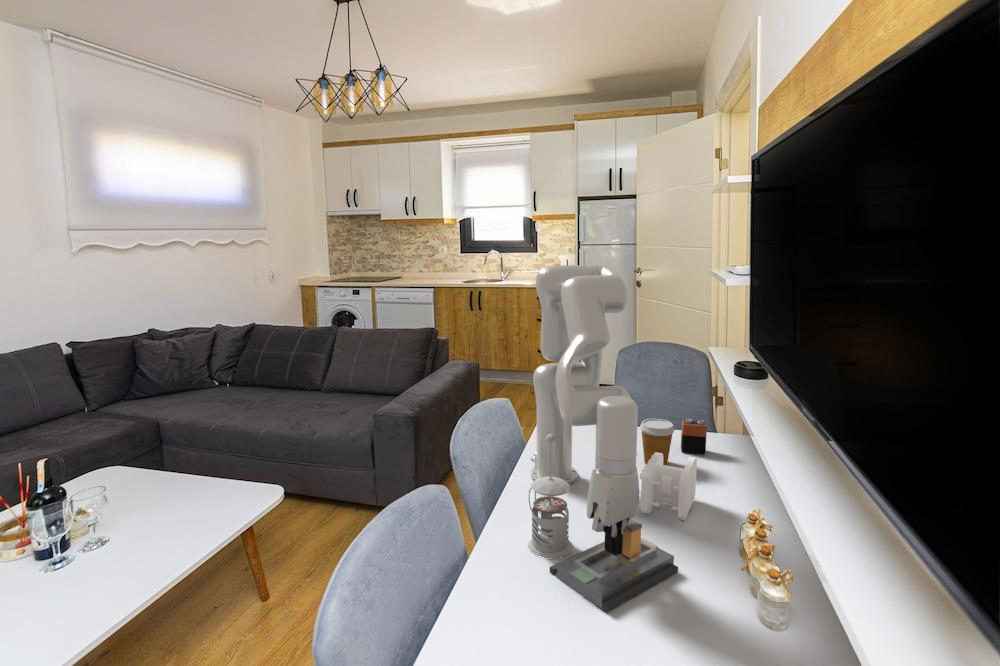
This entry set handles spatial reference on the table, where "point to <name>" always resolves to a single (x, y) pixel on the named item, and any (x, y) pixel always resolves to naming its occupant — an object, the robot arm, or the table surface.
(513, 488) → the table surface
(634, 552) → the lever
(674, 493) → the cable organizer
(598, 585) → the panel
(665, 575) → the dark grey thin bar
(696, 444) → the battery
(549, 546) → the french press
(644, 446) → the disposable coffee cup
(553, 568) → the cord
